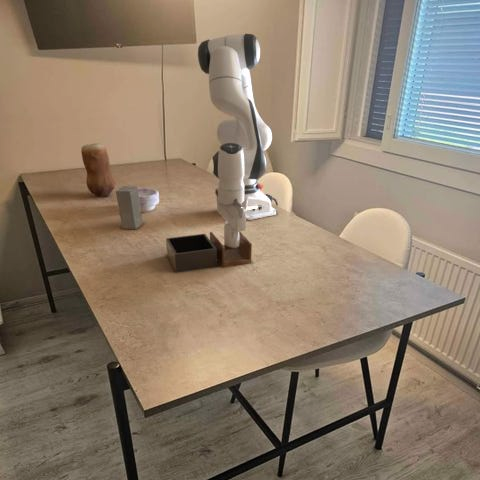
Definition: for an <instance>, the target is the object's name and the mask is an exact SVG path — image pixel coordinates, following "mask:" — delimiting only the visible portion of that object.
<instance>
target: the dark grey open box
mask: <svg viewBox="0 0 480 480" xmlns="http://www.w3.org/2000/svg"><path fill="white" fill-rule="evenodd" d="M165 244H166V255H167V257H168V259H169V261H170V263H171V266H172V267H173V269H174V271H175V272H176V273H181V272H188V271H193V270H201V269H209V268H216V267H218V260H217V249H216V247H215V246H214V245H213V244H212V242H211V241H210V237H208V235H207V234H206V233H199V234H192V235H184V236H183V235H182V236H174V237H166V238H165Z"/></svg>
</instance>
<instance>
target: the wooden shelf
mask: <svg viewBox="0 0 480 480" xmlns="http://www.w3.org/2000/svg"><path fill="white" fill-rule="evenodd" d="M209 240H210V241H211V242H212V244H213V245H214V246H215V247H216V249H217V263H219V264H220V266H221V268H226V267H233V266H240V265H245V264H246V265H247V264H251V263H252V251H253V250H252V249H253V247H252V246H253V244H252V242H251V241H250V240H249V239H248V238H247V237H246V236H245V235H244V234H243V233H242V231H239V247H237V248H236V250H237V251H238V253H240V255H242V257H243V258H242V259H241V258H240V259H233V260H228V261H227V260H226V259H225V257H226V256H225V255H226V254H225V251H226V250H230V249H232V248H231V247H228V246H226V245H225V244H223V243H222V242H221V241H220V240H219V238H218V237H217V236H216V235H215V234H214V232H212V231H210V232H209ZM225 260H226V261H225Z"/></svg>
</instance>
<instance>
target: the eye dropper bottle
mask: <svg viewBox="0 0 480 480" xmlns="http://www.w3.org/2000/svg"><path fill="white" fill-rule="evenodd" d="M232 232H233V229H232V226H231V225H230V224H229V223H227V224H225V223H224V227H223V245H226V246H228V247H231V249H237V247H239V232H238V238H233V237H232Z"/></svg>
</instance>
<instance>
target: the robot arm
mask: <svg viewBox="0 0 480 480" xmlns="http://www.w3.org/2000/svg"><path fill="white" fill-rule="evenodd" d="M260 57H261V46H260V42H259V40H258V38H257V37H256V35H255V34H252V33H244V34H228V35H226V36H221V37H217V38H212V39H206V40H203V41H201V42H200V44H199V46H198V47H197V62H198V64H199V67H200V69H201V71H202V72H203V73H204V74H206V75H208V88H209V89H208V90H209V98H210V102H211V103H212V105H213V106H214V107H215V108H216V109H217V110H218V111H219V112H220V113H223V114H225V115H228V116H230V117H233V118H229V119H224V120H222V121H220V122H219V124H218V125H217V129H216V137H217V140H218V142H219V143H220V144H221V145H220V146H219V148H218V150H217V151H216V152H215V153H214V155H212V164H213V165H212V166H213V170H212V174H213V175H214V176H215V177H216V178H217V179H218V184H217V188H215V189H214V192H215V193H214V195H215V196H216V207H217V208H216V209H217V212H218V214H219V215H220V216H221V217H222V218H223V223H224V225H225V224H227V223H229V224H230V225H231V226H232V229H233V232H232V237H233V238H238V232H239V231H240V232H245V231H246V229H247V221H252V220H257V219H263V218H267V217H272V216H276V215H277V210H276V209H275V208H274V207H273V206H272V201H274V202H275V205H276V206H278V205H279V204H278V201H277V199H276V198H275V197H273V195H270V194H267V193H264V192H263V191H261V190H263V188H264V185H263V184H262V183H259V182H257V180H259V179H260V178H262V177H263V176H264V175H265V174H266V171H267V159H266V156H265V151H266V150H268V149H269V148H270V146H271V144H272V140H273V134H272V133H273V132H272V129H271V128H270V127H269V126H268V125H267V124H266V122H265V121H263V119H262V117H261V116H260V114H259V112H258V110H257V107H256V105H255V100H254V94H253V86H252V85H253V84H252V77H251V72H250V71H251V70H252V69H254V68H256V67H257V65H258V64H259V62H260V61H259V60H260Z"/></svg>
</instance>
